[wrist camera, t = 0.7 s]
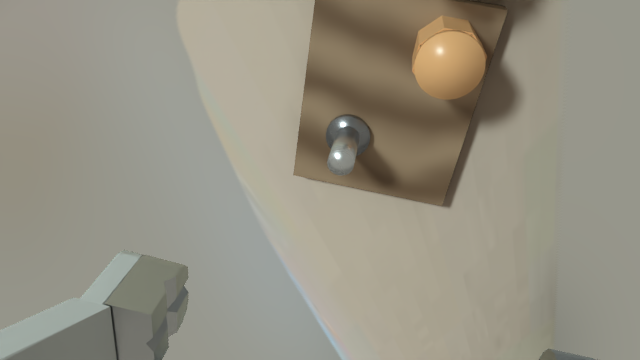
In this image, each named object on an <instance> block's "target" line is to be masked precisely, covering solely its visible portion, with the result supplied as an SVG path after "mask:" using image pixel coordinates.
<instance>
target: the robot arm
mask: <svg viewBox="0 0 640 360" xmlns="http://www.w3.org/2000/svg"><path fill="white" fill-rule="evenodd" d="M187 279H188V267H187V266H185V265H182V264H179V263H175V262H171V261H167V260H163V259H159V258H155V257H151V256H147V255H142V254H138V253H134V252H130V251H127V250H124V251H122V252H120V253H118V254H117V255H116V256H115V258H114V259H113V260H112V261H111V262H110V263H109V265H108V266H107V267H106V268H105V269H104V271H103V272H102V273H101V274H100V275H99V277H98V278H97V279H96V280H95V281H94V283H93V284H92V285H91V286H90V287H89V288H88V290H87V291H86V292H85V293H84V294H83V296H82V297H81V298H80V299H78V298H71V299H69V300H67V301H65V302H62V303H60V304H58V305H56V306H53V307H52V308H49V309H47V310H45V311H42V312H40V313H38V314H35V315H33V316H31V317H29V318H27V319H24V320H22V321H20V322H18V323H16V324H14V325H11V326H9V327H6V328H4V329H2V330H0V360H162V358H163V357H164V355H165V353H166V351H167V349H168V347H169V346H168V337H169V336H171V335H173V334H174V333H176V332H177V331H178V329H179V327H180V325H181V324H182V322H183V318H184V316H185V313H186V310H187V304H188V291H187V290H186V288H185V287H184V284H185V283H186V281H187ZM539 360H598V359H593V358H589V357H584V356H580V355H575V354H571V353H566V352H562V351H557V350H552V349H547V350H546V351H544V352H543V353H542V355H541V357H540V358H539Z"/></svg>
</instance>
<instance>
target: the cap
mask: <svg viewBox="0 0 640 360" xmlns="http://www.w3.org/2000/svg"><path fill="white" fill-rule="evenodd" d="M486 59H487V55H486V53H485V50H484V48H483V46H482V43H481V41H480V40H479V38H478V36H477V35H476V33H475V31H474V29H473V28H472V26H471V24H470V23H469V21H468V20H464V19H458V18H453V17H447V16H440V17H439V18H437V19H436V20H434V21H433V22H431V23H430V24H428V25H427V26H425V27H424V28H422V29H421V30H419V31H418V35H417V39H416V43H415V48H414V52H413V56H412V72H413V73H414V75H415V77H416V80H417V82H418V84H419V86H420V87H421V88H422V89H423V90H424V91H425V92H426V93H427V94H429V95H430V96H432V97H435V98H438V99H443V100H451V99H456V98H460V97H462V96H464V95H466V94H468V93H470V92H471V91H472V90H473V89H474V88H475V87H476V86H477V85H478V84H479V82H480V81H481V79H482V77H483V75H484V71H485V65H486V64H485V62H486Z"/></svg>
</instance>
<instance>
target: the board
mask: <svg viewBox="0 0 640 360" xmlns="http://www.w3.org/2000/svg"><path fill="white" fill-rule="evenodd" d="M507 12H508V10H507V9H506V7H504V6H498V5H492V4H487V3H481V2H475V1H470V0H315V5H314V14H313V22H312V30H311V38H310V46H309V54H308V62H307V70H306V78H305V86H304V94H303V102H302V110H301V118H300V126H299V134H298V143H297V151H296V159H295V167H294V175H296V176H301V177H305V178H310V179H315V180H320V181H325V182H329V183H334V184H339V185H344V186H348V187H353V188H358V189H363V190H368V191H372V192H377V193H382V194H387V195H392V196H396V197H401V198H406V199H411V200H416V201H420V202H425V203H430V204H435V205H440V206H442V205H443V202H444V199H445V196H446V193H447V190H448V187H449V184H450V181H451V178H452V175H453V172H454V169H455V166H456V163H457V160H458V157H459V154H460V151H461V148H462V145H463V142H464V139H465V136H466V133H467V130H468V127H469V124H470V121H471V119H472V116H473V113H474V110H475V107H476V104H477V101H478V98H479V95H480V92H481V89H482V86H483V83H484V80H485V77H486V74H487V71H488V68H489V65H490V62H491V59H492V56H493V53H494V50H495V47H496V44H497V41H498V38H499V35H500V32H501V30H502V27H503V24H504V21H505V18H506V15H507ZM440 16H447V17H453V18H458V19H464V20H468V21H469V23H470V24H471V26H472V28H473V29H474V31H475V33H476V35H477V36H478V38H479V40H480V41H481V43H482V46H483V48H484V50H485V53H486V55H487V59H486V62H485V64H486V65H485V71H484V75H483V77H482V79H481V81H480V82H479V84H478V85H477V86H476V87H475V88H474V89H473V90H472V91H471V92H470V93H468V94H466V95H464V96H462V97H460V98H456V99H451V100H443V99H438V98H435V97H432V96H430V95H429V94H427V93H426V92H425V91H424V90H423V89H422V88H421V87H420V86H419V84H418V82H417V80H416V77H415V75H414V73H413V72H412V56H413V52H414V48H415V43H416V39H417V35H418V31H419V30H421V29H422V28H424V27H425V26H427V25H428V24H430V23H431V22H433V21H434V20H436V19H437V18H439V17H440ZM344 114H351V115H355V116H358V117H360V118H361V119H363V120H364V121H365V122H366V123H367V125H368V127H369V129H370V133H371V137H370V143H369V145H368V147H367V149H366V150H365V151H364V152H363V153H361V154H360V155H357V156H356V159H355V163H354V167H353V170H352V171H351V172H350V173H349V174H347V175H343V176H340V175H336V174H334V173H332V172H331V171H330V170H329V168H328V166H327V160H328V157H329V154H330V151H331V148H330V147H329V146H328V144H327V141H326V131H327V128H328V125H329V124H330V122H331V121H332V120H333V119H334V118H336V117H338V116H340V115H344Z"/></svg>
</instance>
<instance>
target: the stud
mask: <svg viewBox="0 0 640 360" xmlns="http://www.w3.org/2000/svg"><path fill="white" fill-rule="evenodd" d="M370 137H371V133H370V129H369V127H368V125H367V123H366V122H365V121H364V120H363V119H361V118H360V117H358V116H355V115H351V114H344V115H340V116H338V117H336V118H334V119H333V120H332V121H331V122H330V124H329V125H328V128H327V131H326V141H327V144H328V146H329V147H330V148H331V151H330V154H329V157H328V160H327V166H328V168H329V170H330V171H331V172H332V173H334V174H336V175H340V176H343V175H347V174H349V173H350V172H351V171H352V170H353V167H354V163H355V159H356V156H357V155H360V154H361V153H363V152H364V151H365V150H366V149H367V147H368V145H369V143H370Z"/></svg>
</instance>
